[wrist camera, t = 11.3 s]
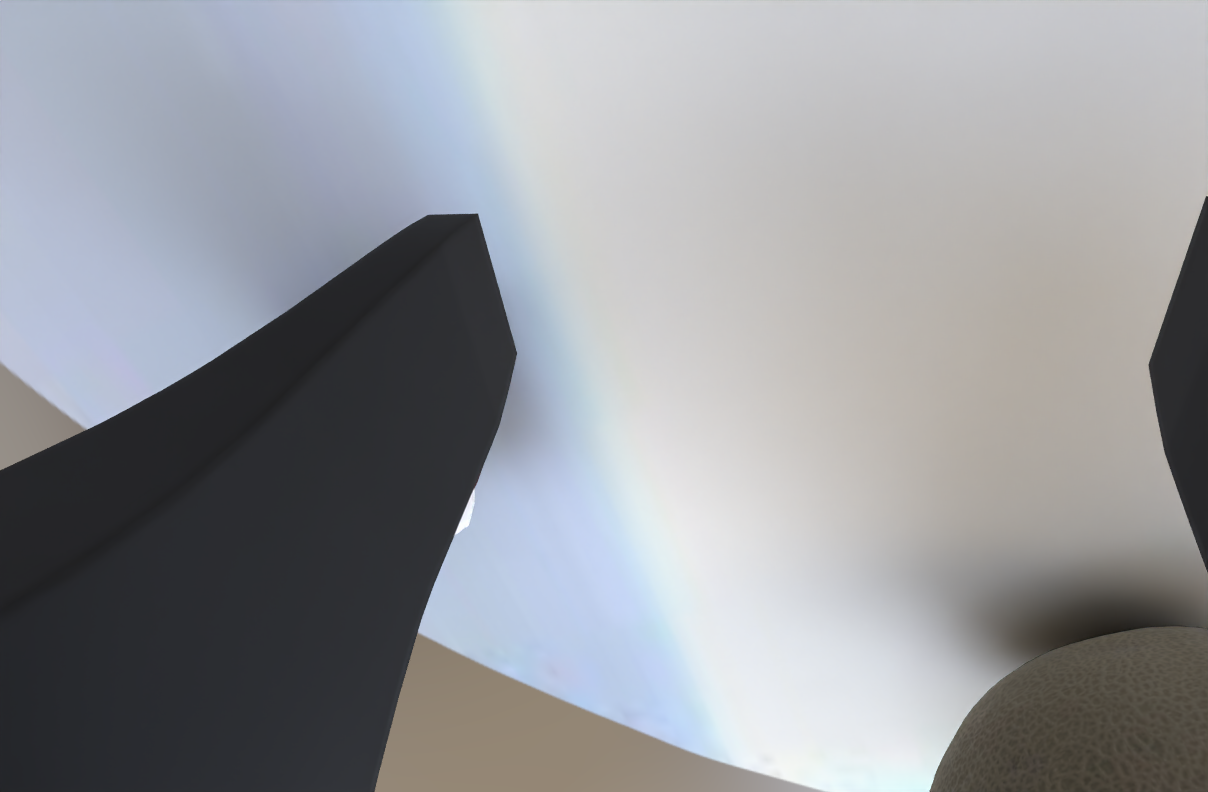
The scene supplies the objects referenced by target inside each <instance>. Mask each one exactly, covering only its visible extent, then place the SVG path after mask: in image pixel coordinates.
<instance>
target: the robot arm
mask: <svg viewBox="0 0 1208 792" xmlns="http://www.w3.org/2000/svg"><path fill="white" fill-rule="evenodd" d="M516 356H517V352H516V348H515V345H514V341H513V337H512V334H511V330H510V327H509V323H508V320H507V316H506V312H505V309H504V305H503V302H502V298H501V295H500V291H499V287H498V284H497V280H496V277H495V273H494V270H493V266H492V263H491V259H490V255H489V252H488V248H487V245H486V241H485V238H484V234H483V230H482V227H481V223H480V220H479V216H478V214H446V215H427V216H425V217H424V218H422V219H420V220H418V221H416V222H415V223H413V224H411V225H410V226H408V227H406V228H405V229H403V230H402V231H400V232H399V233H397V234H396V235H394V236H393V237H391V238H390V239H388V240H387V241H385V242H384V243H382V244H381V245H380V246H378V247H377V248H375V249H374V250H373V251H371V252H370V253H368V254H367V255H365V256H364V257H363V258H361V259H360V260H358V261H357V262H356V263H354V264H353V265H351V266H350V267H349V268H347V269H346V270H344V271H343V272H342V273H340V274H339V275H337V276H336V277H335V278H333V279H332V280H330V281H329V282H328V283H326V284H325V285H323V286H322V287H321V288H319V289H318V290H316V291H315V292H314V293H312V294H311V295H309V296H308V297H307V298H305V299H304V300H302V301H301V302H299V303H298V304H297V305H295V306H294V307H292V308H291V309H290V310H288V311H287V312H285V313H284V314H282V315H281V316H279V317H278V318H276V319H275V320H273V321H271V322H270V323H268V324H267V325H265V326H264V327H262V328H261V329H259V330H258V331H256V332H255V333H253V334H252V335H250V336H249V337H247V338H246V339H244V340H243V341H241V342H240V343H238V344H237V345H235V346H233V347H232V348H230V349H229V350H227V351H226V352H224V353H223V354H221V355H220V356H218V357H217V358H215V359H214V360H212V361H211V362H209V363H207V364H206V365H204V366H202V367H201V368H199V369H197V370H196V371H194V372H193V373H191V374H189V375H187V376H186V377H184V378H182V379H181V380H179V381H177V382H175V383H174V384H172V385H170V386H169V387H167V388H165V389H163V390H162V391H160V392H158V393H156V394H154V395H152V396H151V397H149V398H147V399H145V400H143V401H141V402H140V403H138V404H136V405H134V406H132V407H130V408H129V409H127V410H125V411H123V412H121V413H119V414H118V415H116V416H114V417H112V418H110V419H108V420H106V421H104V422H102V423H100V424H98V425H96V426H94V427H92V428H90V429H88V430H86V431H83V432H81V433H79V434H77V435H75V436H73V437H71V438H69V439H66V440H64V441H62V442H60V443H58V444H56V445H54V446H51V447H50V448H47V449H45V450H43V451H41V452H39V453H37V454H34V455H32V456H30V457H28V458H26V459H24V460H22V461H20V462H17V463H15V464H13V465H11V466H9V467H7V468H5V469H2V470H0V792H374V791H375V787H376V782H377V778H378V774H379V770H380V767H381V763H382V759H383V755H384V751H385V747H386V743H387V740H388V736H389V732H390V728H391V725H392V721H393V717H394V713H395V709H396V705H397V702H398V698H399V694H400V691H401V687H402V684H403V680H404V677H405V674H406V670H407V666H408V663H409V660H410V656H411V653H412V649H413V646H414V643H415V639H416V636H417V632H418V629H419V626H420V622H421V619H422V616H423V613H424V610H425V608H426V605H427V602H428V599H429V597H430V594H431V591H432V589H433V586H434V583H435V581H436V578H437V576H438V573H439V571H440V569H441V566H442V564H443V561H444V559H445V557H446V554H447V552H448V549H449V547H450V545H451V542H452V540H453V537H454V535H455V533H456V530H457V528H458V525H459V523H460V521H461V518H462V516H463V513H464V511H465V509H466V506H467V504H468V501H469V499H470V497H471V494H472V492H473V489H474V487H475V485H476V482H477V480H478V477H479V475H480V472H481V470H482V467H483V465H484V463H485V460H486V458H487V455H488V453H489V450H490V448H491V445H492V443H493V440H494V438H495V435H496V432H497V430H498V427H499V424H500V420H501V417H502V413H503V409H504V406H505V402H506V398H507V394H508V390H509V386H510V382H511V377H512V373H513V369H514V364H515V360H516ZM1149 371H1150V377H1151V383H1152V388H1153V394H1154V400H1155V406H1156V412H1157V417H1158V422H1159V427H1160V432H1161V437H1162V441H1163V446H1164V451H1165V455H1166V458H1167V460H1168V463H1169V466H1170V469H1171V472H1172V475H1173V478H1174V481H1175V484H1176V486H1177V489H1178V492H1179V495H1180V498H1181V501H1182V503H1183V506H1184V509H1185V512H1186V515H1187V517H1188V520H1189V523H1190V526H1191V528H1192V531H1193V534H1194V537H1195V539H1196V542H1197V545H1198V548H1199V550H1200V553H1201V556H1202V558H1203V561H1204V564H1205V567H1206V569H1207V572H1208V196H1206V198H1205V201H1204V204H1203V207H1202V210H1201V213H1200V216H1199V219H1198V221H1197V224H1196V227H1195V230H1194V233H1193V236H1192V239H1191V242H1190V245H1189V248H1188V251H1187V254H1186V257H1185V260H1184V262H1183V265H1182V268H1181V271H1180V274H1179V277H1178V280H1177V283H1176V286H1175V289H1174V292H1173V295H1172V298H1171V300H1170V303H1169V306H1168V309H1167V312H1166V315H1165V318H1164V321H1163V324H1162V327H1161V330H1160V333H1159V336H1158V339H1157V341H1156V344H1155V347H1154V350H1153V353H1152V356H1151V359H1150V362H1149Z"/></svg>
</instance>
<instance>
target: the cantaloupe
mask: <svg viewBox="0 0 1208 792" xmlns="http://www.w3.org/2000/svg"><path fill="white" fill-rule="evenodd" d="M930 792H1208V629H1205V628H1199V627H1182V626H1168V627H1146V628H1139V629H1133V630H1128V631H1123V632H1118V633H1113V634H1108V635H1103V636H1099V637H1095V638H1091V639H1087V640H1083V641H1079V642H1076V643H1072V644H1069V645H1066V646H1062V647H1060V648H1057V649H1054V650H1052V651H1050V652H1047V653H1045V654H1043V655H1041V656H1039V657H1037V658H1035V659H1033V660H1031V661H1029V662H1027V663H1026V664H1024V665H1023V666H1021V667H1020V668H1018V669H1017V670H1015V671H1013V672H1012V673H1010V674H1009V675H1007V676H1006V677H1004V678H1003V679H1002V680H1000V681H999V682H998V683H997V684H996V685H995V686H993V687H992V688H991V689H990V690H989V691H988V692H987V693H986V694H985V695H984V696H983V697H982V698H981V699H980V700H979V702H978V703H977V704H976V705H975V706H974V707H973V708H972V710H971V711H970V712H969V714H968V715H967V716H966V718H965V719H964V721H963V722H962V724H961V726H960V728H959V729H958V731H957V733H956V735H955V736H954V738H953V740H952V742H951V743H950V745H949V747H948V749H947V751H946V752H945V754H944V756H943V758H942V760H941V762H940V765H939V767H938V769H937V771H936V774H935V777H934V780H933V784H932V786H931V789H930Z"/></svg>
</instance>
